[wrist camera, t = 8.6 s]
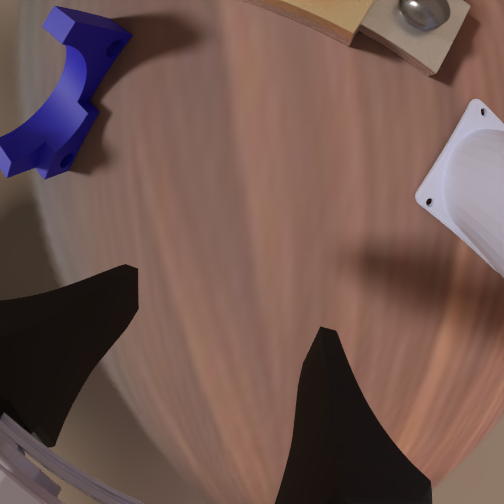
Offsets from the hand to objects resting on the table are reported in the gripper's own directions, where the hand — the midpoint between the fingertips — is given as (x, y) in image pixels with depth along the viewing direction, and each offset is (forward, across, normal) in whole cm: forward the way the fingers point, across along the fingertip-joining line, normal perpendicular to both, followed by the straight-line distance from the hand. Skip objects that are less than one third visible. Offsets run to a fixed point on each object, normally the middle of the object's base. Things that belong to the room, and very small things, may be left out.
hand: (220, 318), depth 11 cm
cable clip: (+10, +16, -7) cm, 20 cm away
